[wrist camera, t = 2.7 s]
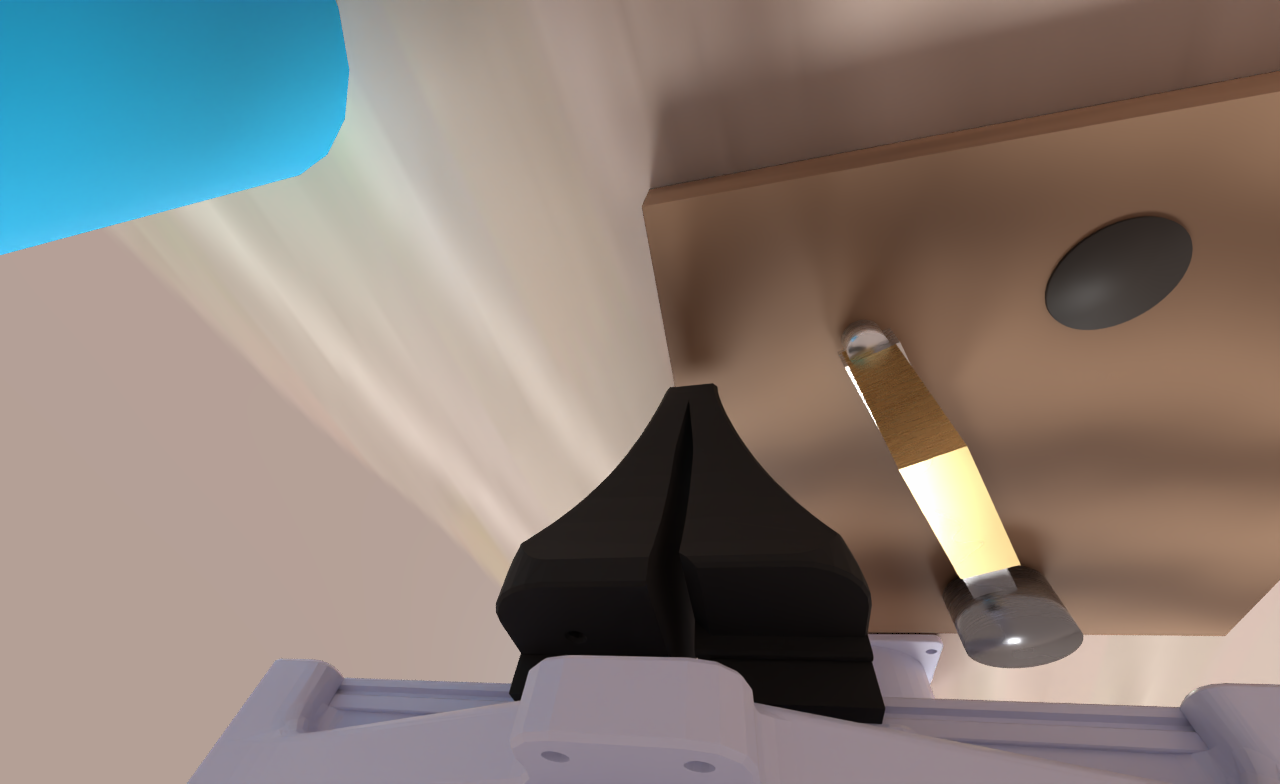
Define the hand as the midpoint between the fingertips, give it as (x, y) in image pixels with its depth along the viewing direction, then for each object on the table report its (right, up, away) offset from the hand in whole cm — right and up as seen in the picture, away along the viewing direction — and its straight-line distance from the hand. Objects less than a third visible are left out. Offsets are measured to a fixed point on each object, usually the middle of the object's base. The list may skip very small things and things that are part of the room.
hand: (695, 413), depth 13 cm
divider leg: (+9, -3, +2) cm, 10 cm away
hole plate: (+10, -1, +3) cm, 11 cm away
